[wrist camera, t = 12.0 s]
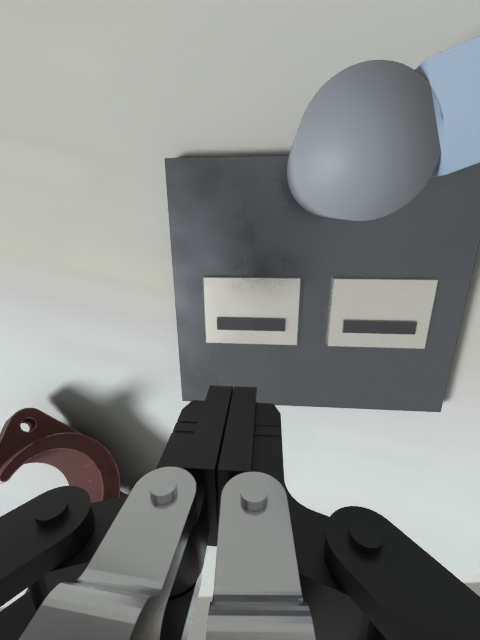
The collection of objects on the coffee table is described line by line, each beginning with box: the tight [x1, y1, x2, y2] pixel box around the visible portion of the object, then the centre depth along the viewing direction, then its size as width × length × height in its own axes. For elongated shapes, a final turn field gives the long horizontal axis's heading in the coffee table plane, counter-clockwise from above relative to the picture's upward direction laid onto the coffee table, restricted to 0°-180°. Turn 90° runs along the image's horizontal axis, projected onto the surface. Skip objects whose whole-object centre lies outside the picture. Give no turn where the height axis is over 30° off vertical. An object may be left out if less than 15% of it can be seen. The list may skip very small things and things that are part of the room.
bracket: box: [0, 408, 127, 594], centre depth 24 cm, size 6×17×10 cm, turn 44°
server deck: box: [165, 156, 480, 412], centre depth 19 cm, size 16×18×4 cm
